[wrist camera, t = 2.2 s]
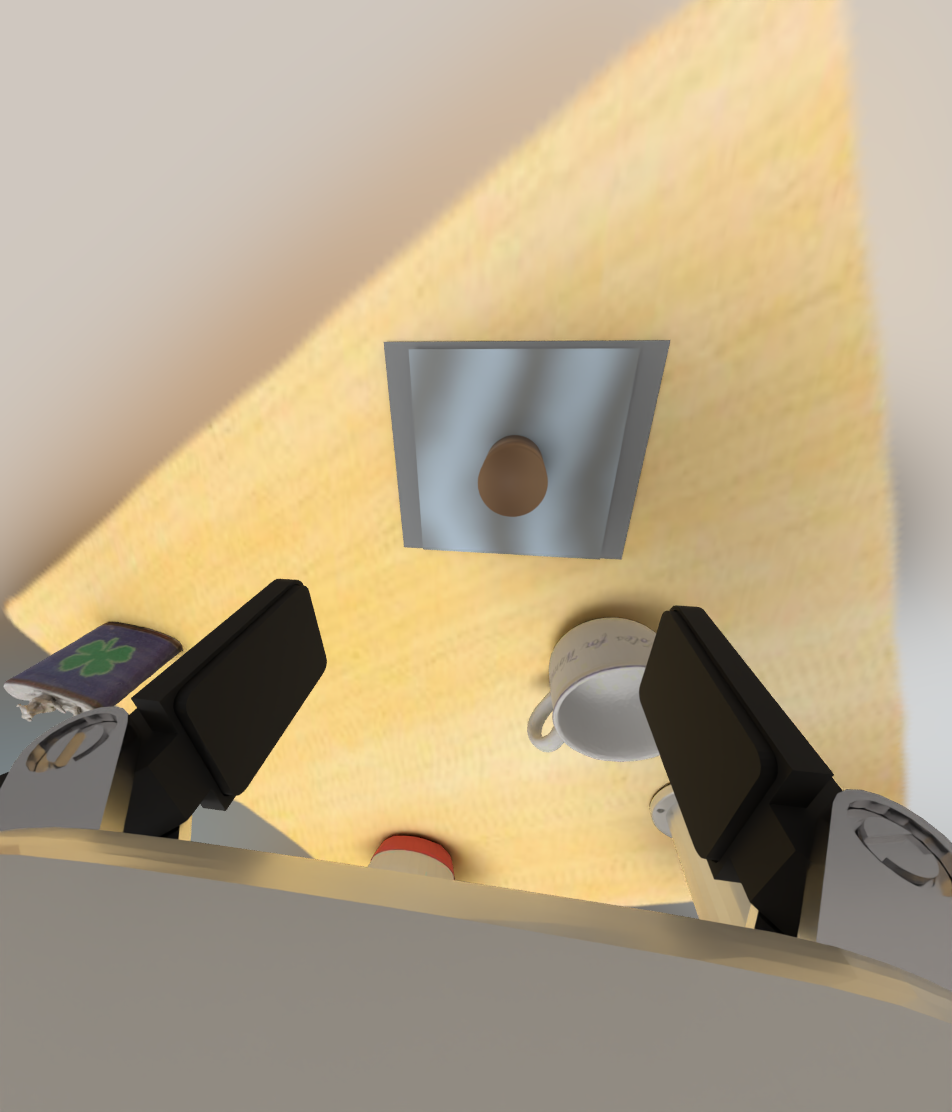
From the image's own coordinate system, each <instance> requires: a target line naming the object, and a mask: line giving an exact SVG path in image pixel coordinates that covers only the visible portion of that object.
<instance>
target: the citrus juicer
mask: <svg viewBox="0 0 952 1112" xmlns="http://www.w3.org/2000/svg"><path fill="white" fill-rule="evenodd" d="M368 867H370V868H377V869H383V870H390V871H397V872H403V873H410V874H416V875H423V876H430V877H436V878H443V879H449V880H455V878H454V870H453V864H452V859H451V857H450V855H449V853H448V852H447V851H446V850H445V849H444V848H443V847H442V845H440V844H438V843H433V842H431V841H429V840H426V839H423V838H418V837H413V836H397V835H394V836H392V837H391V838H388V839H386V840H385V841H383V842H382V844H381V845H380V847H379V848H378V849H377V851H376V852H375V854H374V855H373V857H372V859H371V862H370V864H369V865H368Z"/></svg>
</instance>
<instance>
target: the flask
mask: <svg viewBox="0 0 952 1112" xmlns="http://www.w3.org/2000/svg"><path fill="white" fill-rule="evenodd" d="M181 651H183V650H182V645H181V644H180V642H179V641H177V640H176V639H175V638H172V637H170V636H168V635H165V634H162V633H160V632H157V631H156V632H155V631H154V630H151V629H146V628H143V627H137V626H133V625H128V624H123V623H122V624H121V623H119V622H108V623H105V624H103V625H101V626H99V627H98V628H96V629H95V630H93V631H91V632H89V633H88V634H86V635H84V636H83V637H81V638H80V639H78V640H77V641H75V642H73V643H71V644H70V645H68V646H66V647H65V648H63V649H61V650H59V651H57V652H56V653H54V654H52V655H51V656H49V657H47V658H46V659H44V660H42V661H41V662H39V663H38V664H36V665H34V666H32V667H30V668H29V669H27V670H25V671H24V672H22V673H20V674H19V675H17V676H15V677H13V678H11V679H9V680H8V681H6V682H5V683H4V688H5V689H6V691H7V692H8V693H9V694H11V695H12V696H13V697H15V698H17V699H20V700H27V701H30V703H29V704H28V705H27V706H26V705H24V706H21V704H18V705H17V707H19V706H21V707H20V709H21V712H22V718H24V719H27V720H28V721H32V719H31V718H33V716H34V715H36V714H39V713H46V712H53V711H55V710H56V709H58V710H59V711H60V712H62V713H66V711H70V712H71V713H74V715H73V716H76V715H78V714H81V713H83V712H86V711H89V710H93V709H97V708H100V707H111V706H114V705H116V704H117V703H119V702H120V701H121V700H122V699H123V698H125V697H126V696H127V695H128V694H129V693H130V692H132V691H133V690H134V689H135V688H137V687H138V686H139V685H140V684H141V683H142V682H144V681H145V680H146V679H147V678H149V677H151V675H153V674H154V673H155V672H156V671H157V670H158V669H159V668H161V667H162V666H163V665H165V664H166V663H167V662H168V661H169V660H171V659H172V658H173V657H175V656H176V655H177V654H178V653H180V652H181Z"/></svg>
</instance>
